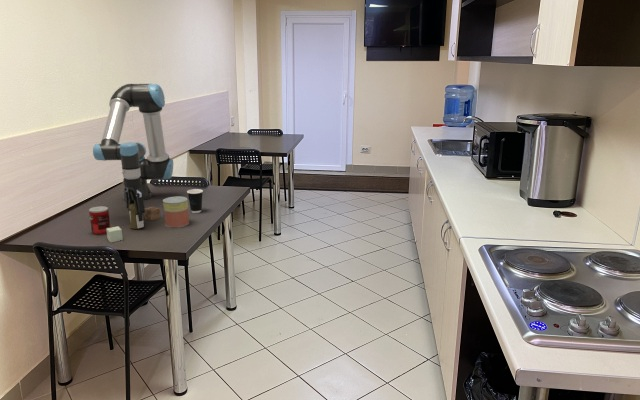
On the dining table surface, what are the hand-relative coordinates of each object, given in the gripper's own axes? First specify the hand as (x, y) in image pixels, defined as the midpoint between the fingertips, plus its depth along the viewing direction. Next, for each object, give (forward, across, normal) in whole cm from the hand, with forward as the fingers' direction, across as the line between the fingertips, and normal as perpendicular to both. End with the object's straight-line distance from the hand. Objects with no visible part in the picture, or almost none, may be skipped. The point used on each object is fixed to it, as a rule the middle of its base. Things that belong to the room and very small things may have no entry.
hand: (137, 225), depth 222 cm
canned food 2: (+1, +8, +16) cm, 18 cm away
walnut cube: (+1, -8, +12) cm, 14 cm away
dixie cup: (+1, -2, +33) cm, 33 cm away
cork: (+1, 0, 0) cm, 1 cm away
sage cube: (+1, +8, -14) cm, 16 cm away
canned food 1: (+1, -6, -14) cm, 15 cm away
